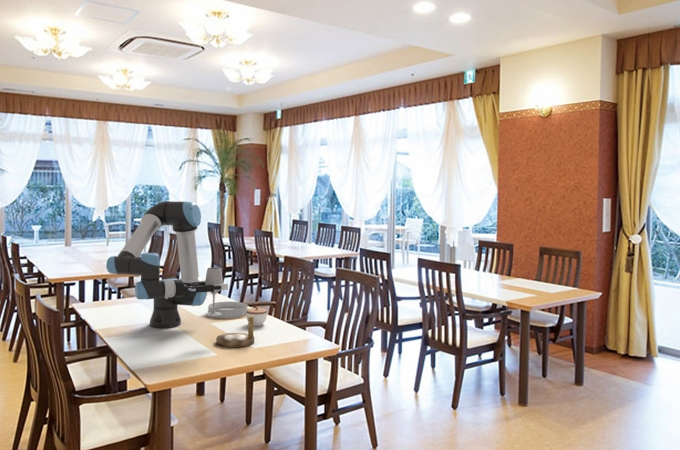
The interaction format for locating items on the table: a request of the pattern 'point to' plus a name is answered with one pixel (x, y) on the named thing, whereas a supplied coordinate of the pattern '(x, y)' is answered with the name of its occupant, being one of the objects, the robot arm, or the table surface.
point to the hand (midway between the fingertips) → (224, 285)
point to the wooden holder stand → (238, 337)
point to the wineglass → (213, 278)
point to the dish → (229, 309)
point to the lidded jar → (257, 315)
